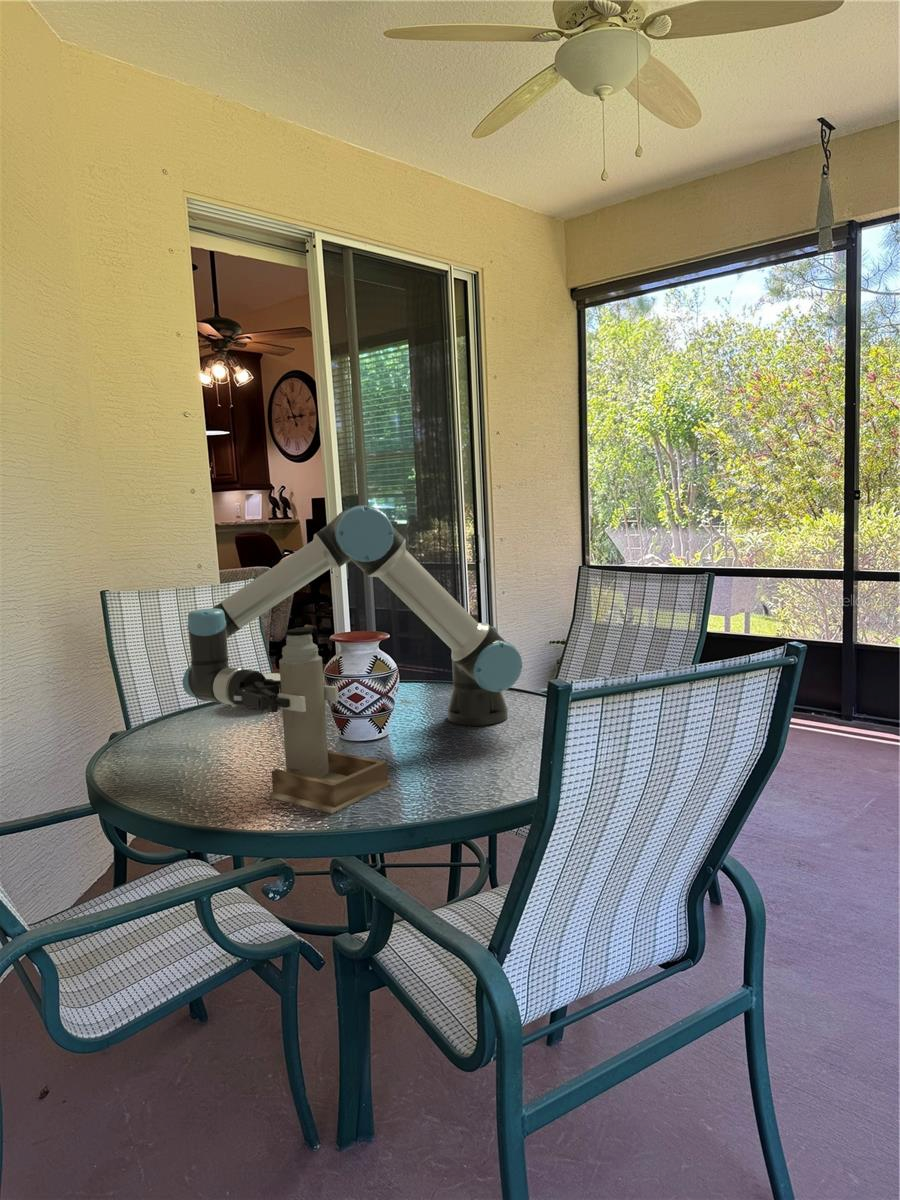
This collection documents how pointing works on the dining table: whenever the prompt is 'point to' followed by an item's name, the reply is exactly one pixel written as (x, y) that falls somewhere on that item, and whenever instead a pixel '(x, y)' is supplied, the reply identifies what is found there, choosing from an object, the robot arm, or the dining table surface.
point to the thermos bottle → (309, 727)
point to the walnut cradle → (332, 783)
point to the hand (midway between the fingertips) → (320, 699)
